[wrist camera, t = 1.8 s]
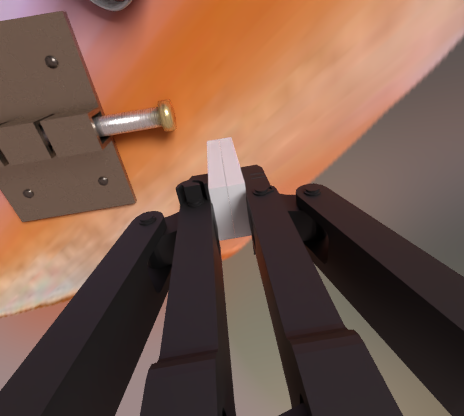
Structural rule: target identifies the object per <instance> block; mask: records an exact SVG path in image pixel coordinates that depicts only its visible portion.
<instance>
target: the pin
mask: <svg viewBox="0 0 464 416" xmlns="http://www.w3.org/2000/svg"><path fill="white" fill-rule="evenodd" d="M92 120H93V122H94V125H95V127H96V130H97V132H98V135H99V137H104V136H110V135H116V134H122V133H128V132H134V131H140V130H146V129H152V128H158V127H163V129H164V130H165V132H167V131H173V130H176V129H177V126H176V118H175V113H174V109H173V106H172V103H171V101H170V99H167V100H161V101H158V107H154V108H148V109H142V110H136V111H130V112H124V113H118V114H112V115H106V116H100V117H94V118H92ZM39 128H40V130H41V132H42V134H43V136H44V138H45V140H46V142H47V144H48V146H50V145H51V143H50V141H49V139H48V137H47V135H46V133H45V131H44V129H43V127H42V126H40V127H39Z"/></svg>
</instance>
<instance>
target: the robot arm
mask: <svg viewBox="0 0 464 416" xmlns="http://www.w3.org/2000/svg"><path fill="white" fill-rule="evenodd" d="M219 141H220V142H219ZM220 147H221V148H220ZM207 159H208V174H203V175H197V176H192V177H191V178H190V179H189V180H187V181H184V182H182V183H180V184H179V185H178V186H177V187H176V192H177V195H178V199H179V203H180V211H179V212H177V213H176V214H173V215H171V216H168V217H165V218H164V216H163V214H162V213H161V212H158V211H151V212H146V213H142V214H141V215H139V216H137V217H136V218H135V219H134V220H133V221H132V222H131V223H130V225H129V226H128V227H127V229H126V230H125V231H124V232H123V234H122V235H121V236H120V238H119V239H118V240H117V241H116V243H115V244H114V245H113V247H112V248H111V249H110V250H109V252H108V253H107V254H106V256H105V257H104V258H103V260H102V261H101V262H100V263H99V265H98V266H97V267H96V269H95V270H94V271H93V272H92V274H91V275H90V276H89V278H88V279H87V280H86V281H85V283H84V284H83V285H82V287H81V288H80V289H79V290H78V292H77V293H76V294H75V296H74V297H73V298H72V299H71V301H70V302H69V303H68V305H67V306H66V307H65V309H64V310H63V311H62V312H61V314H60V315H59V316H58V318H57V319H56V320H55V322H54V323H53V324H52V325H51V327H50V328H49V329H48V330H47V332H46V333H45V334H44V335H43V337H42V338H41V339H40V341H39V342H38V343H37V344H36V346H35V347H34V348H33V350H32V351H31V352H30V353H29V355H28V356H27V357H26V359H25V360H24V361H23V363H22V364H21V365H20V367H19V368H18V369H17V370H16V372H15V373H14V374H13V375H12V377H11V378H10V379H9V380H8V382H7V383H6V384H5V386H4V387H3V388H2V389H1V391H0V416H115V414H116V412H117V409H118V407H119V405H120V402H121V400H122V398H123V395H124V393H125V390H126V388H127V386H128V384H129V381H130V379H131V377H132V374H133V372H134V370H135V367H136V365H137V363H138V360H139V358H140V356H141V353H142V351H143V349H144V346H145V344H146V341H147V339H148V337H149V334H150V332H151V330H152V328H153V325H154V323H155V321H156V318H157V316H158V313H159V311H160V309H161V307H162V304H163V302H164V299H165V297H166V295H167V292H168V290H169V292H168V299H167V306H166V313H165V321H164V328H163V335H162V343H161V350H160V356H159V360H158V362H157V363H154V364H152V365H151V367H150V368H149V370H148V374H147V378H146V383H145V389H144V394H143V401H142V406H141V412H140V416H236V412H235V403H234V394H233V381H232V370H231V360H230V348H229V337H228V326H227V315H226V303H225V292H224V281H223V270H222V259H221V247H220V243H219V241H220V240H226V239H232V238H235V237H236V238H238V237H244V236H250V235H252V241H253V249H254V254H256V258H257V262H258V266H259V270H260V274H261V279H262V283H263V287H264V291H265V295H266V299H267V303H268V308H269V312H270V316H271V320H272V324H273V328H274V332H275V336H276V341H277V345H278V349H279V353H280V357H281V361H282V366H283V370H284V374H285V378H286V382H287V386H288V391H289V395H290V400H291V405H292V409H290V410H288V411H287V412H285V413H283V414H281V415H279V416H403V415H402V413H401V411H400V409H399V407H398V406H397V403H396V402H395V400H394V398H393V396H392V394H391V392H390V391H389V389H388V387H387V385H386V383H385V381H384V379H383V377H382V375H381V373H380V372H379V370H378V368H377V366H376V364H375V362H374V360H373V358H372V357H371V355H370V353H369V351H368V349H367V348H366V346H365V344H364V342H363V340H362V339H361V337H360V336H359V334H358V333H357V332H356V331H354V330H348V329H347V328H346V327H345V325H344V324H343V322H342V320H341V318H340V316H339V314H338V312H337V310H336V308H335V306H334V304H333V302H332V300H331V298H330V296H329V294H328V292H327V290H326V288H325V286H324V284H323V282H322V279H321V278H320V275H319V273H318V271H317V270H316V267H315V265H316V266H317V267H318V268H319V269H320V270H321V271H322V272H323V274H324V275H325V276H326V277H327V278H328V279H329V280H330V281H331V282H332V283H333V285H334V286H335V287H336V288H337V289H338V290H339V291H340V292H341V294H342V295H343V296H344V297H345V298H346V299H347V300H348V301H349V302H350V304H351V305H352V306H353V307H354V308H355V309H356V310H357V311H358V312H359V313H360V314H361V316H362V317H363V318H364V319H365V320H366V321H367V322H368V323H369V324H370V326H371V327H372V328H373V329H374V330H375V331H376V332H377V333H378V334H379V336H380V337H381V338H382V339H383V340H384V341H385V342H386V343H387V344H388V346H389V347H390V348H391V349H392V350H393V351H394V352H395V353H396V354H397V356H398V357H399V358H400V359H401V360H402V361H403V362H404V363H405V364H406V366H407V367H408V368H409V369H410V370H411V371H412V372H413V373H414V374H415V376H416V377H417V378H418V379H419V380H420V381H421V382H422V383H423V384H424V385H425V387H426V388H427V389H428V390H429V391H430V392H431V393H432V394H433V395H434V397H435V398H436V399H437V400H438V401H439V402H440V403H441V404H442V405H443V407H444V408H445V409H446V410H447V411H448V412H449V413H450V414H451V415H452V416H464V277H463V276H461V275H460V274H458V273H457V272H455V271H454V270H452V269H450V268H449V267H448V266H446V265H445V264H443V263H441V262H440V261H438V260H437V259H435V258H434V257H432V256H431V255H429V254H428V253H426V252H425V251H423V250H422V249H420V248H418V247H417V246H416V245H414V244H412V243H411V242H409V241H408V240H406V239H405V238H403V237H402V236H400V235H398V234H397V233H396V232H394V231H393V230H391V229H390V228H388V227H386V226H385V225H383V224H382V223H380V222H379V221H377V220H376V219H374V218H372V217H371V216H370V215H368V214H367V213H365V212H363V211H362V210H361V209H359V208H357V207H356V206H354V205H353V204H351V203H350V202H348V201H347V200H345V199H344V198H342V197H341V196H339V195H338V194H336V193H335V192H333V191H332V190H330V189H328V188H327V187H325V186H323V185H318V184H307V185H303V186H300V187H299V188H298V189H297V190H296V195H284V194H279V193H278V191H277V189H276V188H275V187H274V186H271V185H270V183H269V181H268V179H267V177H266V175H265V173H264V171H263V169H262V167H260V166H258V165H252V166H246V167H240V165H239V162H238V158H237V155H236V152H235V148H234V145H233V142H232V138H231V137H229V138H223V139H217V140H211V141H207ZM231 214H232V215H231ZM232 220H233V221H232ZM233 226H234V227H233ZM234 231H235V233H234ZM251 233H252V234H251ZM314 264H315V265H314Z"/></svg>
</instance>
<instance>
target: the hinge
mask: <svg viewBox="0 0 464 416" xmlns="http://www.w3.org/2000/svg"><path fill="white" fill-rule="evenodd" d="M100 116H105V115H104V112H103V109H102V107H101V104H100V101H99V99H98V96H97V93H96V91H95V88H94V85H93V83H92V80H91V77H90V75H89V72H88V69H87V67H86V64H85V62H84V59H83V56H82V54H81V51H80V48H79V46H78V43H77V40H76V38H75V35H74V32H73V30H72V27H71V24H70V22H69V19H68V16H67V14H66V12H64V11H59V12H53V13H47V14H41V15H35V16H29V17H23V18H17V19H11V20H5V21H0V189H1V191H2V192H3V194H4V195H5V197H6V198H7V200H8V201H9V203H10V204H11V206H12V207H13V209H14V210H15V212H16V213H17V215H18V216H19V218H20V219H21V221H22V222H26V221H31V220H37V219H43V218H49V217H55V216H61V215H67V214H73V213H79V212H85V211H91V210H97V209H103V208H109V207H115V206H121V205H127V204H133V203H136V201H137V200H136V197H135V194H134V192H133V189H132V186H131V184H130V181H129V178H128V176H127V173H126V170H125V168H124V165H123V162H122V160H121V157H120V154H119V152H118V149H117V146H116V144H115V141H114V138H113V136H112V135H110V136H104V137H99V135H98V132H97V130H96V127H95V125H94V122H93V120H92V118H94V117H100ZM40 126H42V127H43V129H44V131H45V133H46V135H47V137H48V139H49V141H50V143H51V145H50V146H48V144H47V142H46V140H45V138H44V136H43V134H42V132H41V130H40V128H39V127H40Z"/></svg>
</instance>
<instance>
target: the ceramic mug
mask: <svg viewBox="0 0 464 416" xmlns="http://www.w3.org/2000/svg"><path fill="white" fill-rule="evenodd" d="M90 1H91V2H93V3H94V4H95V5H97V6H99V7H101V8H104V9H106V10H110V11H120V10H122V9H124V8H125V7H127V6H128V5H129V4H130V3H131V1H132V0H124V1H123V2H121V1H115V0H90Z"/></svg>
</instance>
